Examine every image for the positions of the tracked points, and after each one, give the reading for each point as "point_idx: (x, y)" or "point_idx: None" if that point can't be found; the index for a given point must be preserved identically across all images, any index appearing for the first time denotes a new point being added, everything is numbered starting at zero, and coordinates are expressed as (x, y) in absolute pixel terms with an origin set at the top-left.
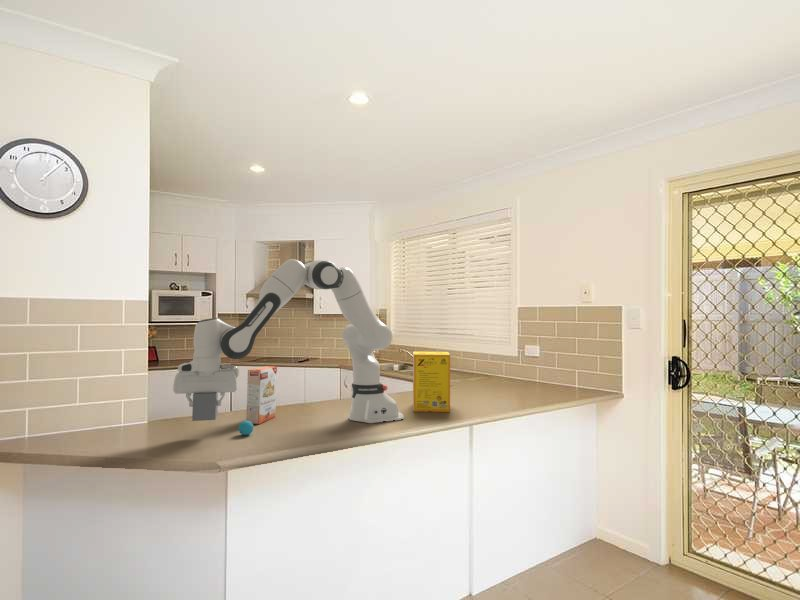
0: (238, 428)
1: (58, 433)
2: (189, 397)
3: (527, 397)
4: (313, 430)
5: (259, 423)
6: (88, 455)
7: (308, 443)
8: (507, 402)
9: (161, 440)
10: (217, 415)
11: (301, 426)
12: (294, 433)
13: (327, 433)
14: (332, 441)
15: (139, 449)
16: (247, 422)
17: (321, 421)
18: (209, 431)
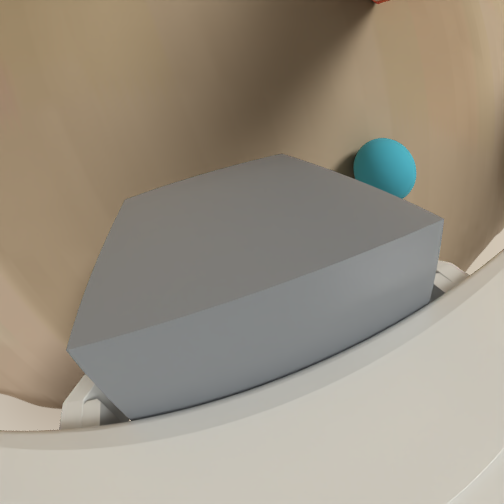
0: (360, 180)
1: None
2: (114, 411)
3: None
4: (488, 137)
5: (379, 2)
6: (9, 390)
7: (466, 252)
8: None
9: (44, 264)
10: (282, 155)
11: (472, 82)
12: (465, 160)
13: (497, 172)
14: (489, 235)
15: (65, 359)
16: (408, 192)
17: (490, 47)
18: (182, 80)
